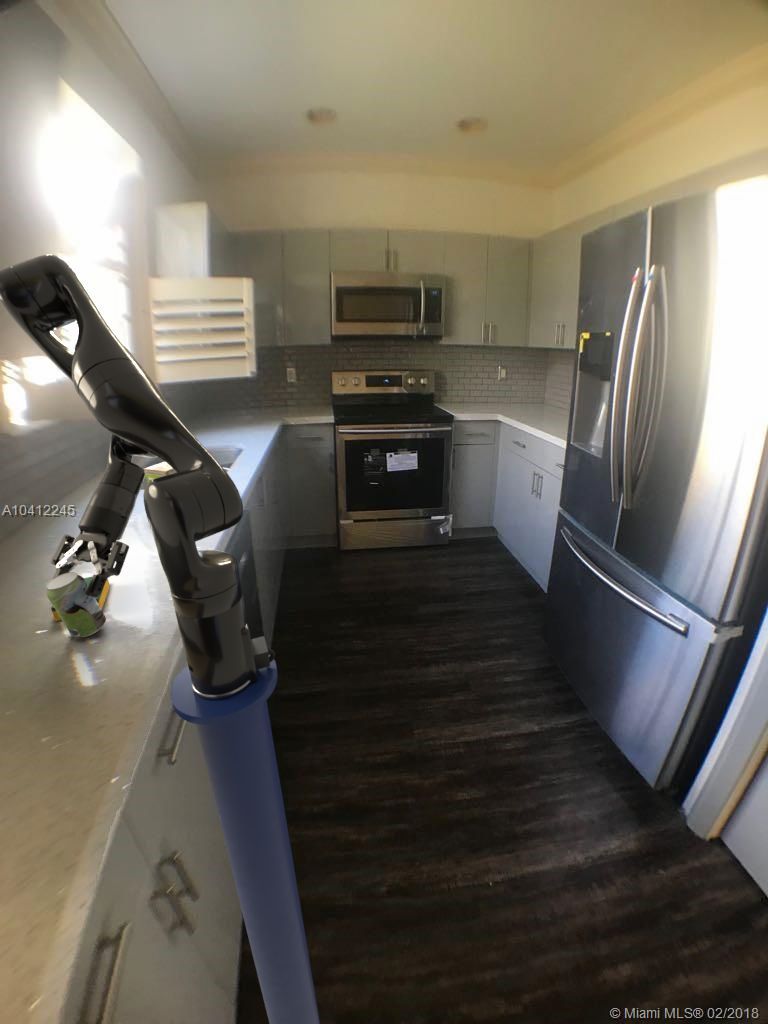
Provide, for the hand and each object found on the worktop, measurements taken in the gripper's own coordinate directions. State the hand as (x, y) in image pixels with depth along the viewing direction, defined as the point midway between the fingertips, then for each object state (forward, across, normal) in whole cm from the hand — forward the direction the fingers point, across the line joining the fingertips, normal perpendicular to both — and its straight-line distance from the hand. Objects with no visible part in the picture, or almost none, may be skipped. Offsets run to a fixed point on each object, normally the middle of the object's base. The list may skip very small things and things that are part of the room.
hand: (73, 593), depth 83 cm
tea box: (-36, -27, +48) cm, 66 cm away
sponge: (0, -9, +11) cm, 14 cm away
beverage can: (+6, 0, +6) cm, 8 cm away
